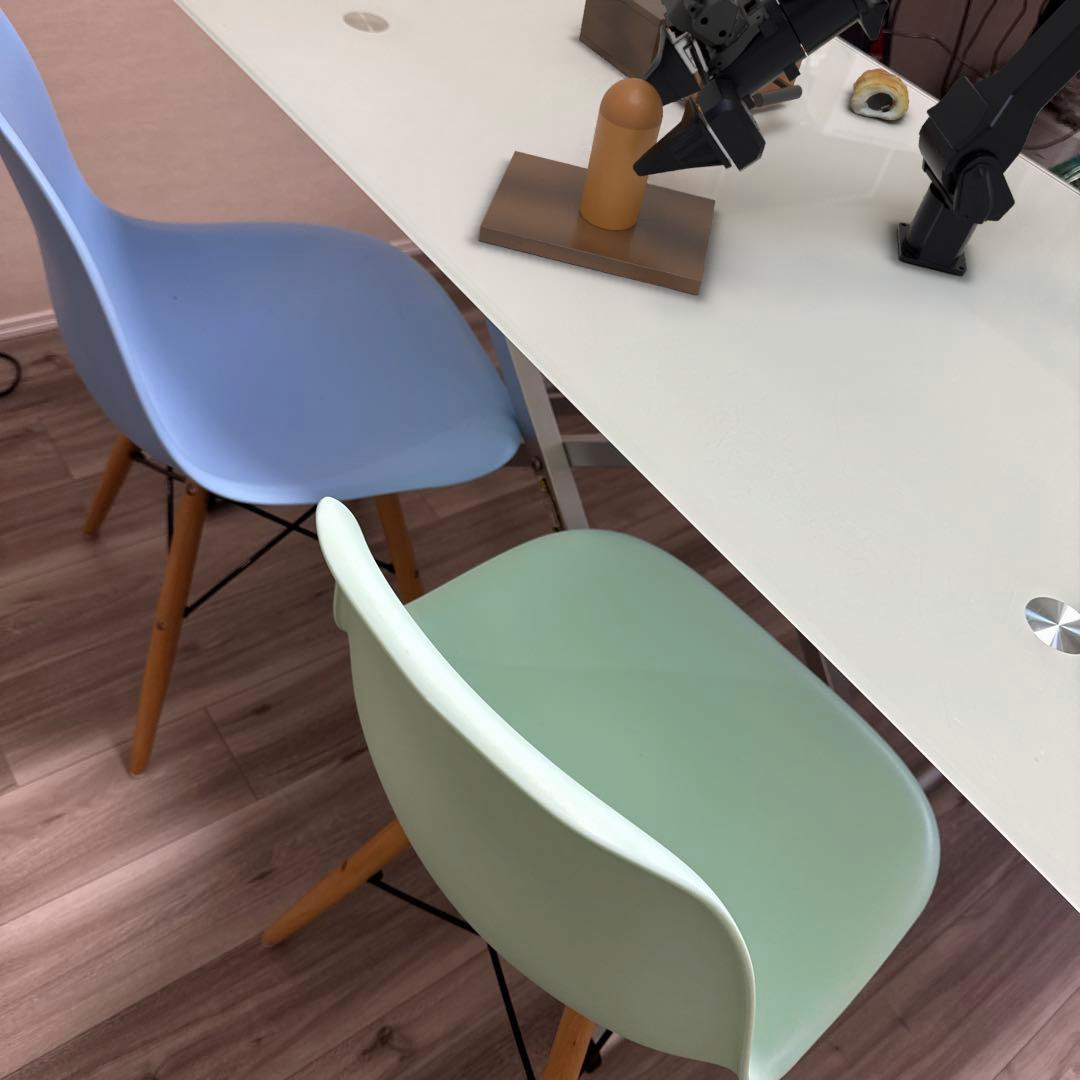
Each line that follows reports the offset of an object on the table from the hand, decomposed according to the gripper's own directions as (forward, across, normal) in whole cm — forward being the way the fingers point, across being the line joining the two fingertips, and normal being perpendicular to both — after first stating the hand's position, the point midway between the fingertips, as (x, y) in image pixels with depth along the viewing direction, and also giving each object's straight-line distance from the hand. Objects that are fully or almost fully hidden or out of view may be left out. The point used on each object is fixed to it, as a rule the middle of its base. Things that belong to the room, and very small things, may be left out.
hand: (627, 143), depth 85 cm
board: (+6, 0, +5) cm, 8 cm away
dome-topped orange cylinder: (+5, 0, +5) cm, 7 cm away
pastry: (-20, -30, +32) cm, 49 cm away
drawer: (-7, -27, +18) cm, 33 cm away
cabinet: (-2, -38, +14) cm, 40 cm away
